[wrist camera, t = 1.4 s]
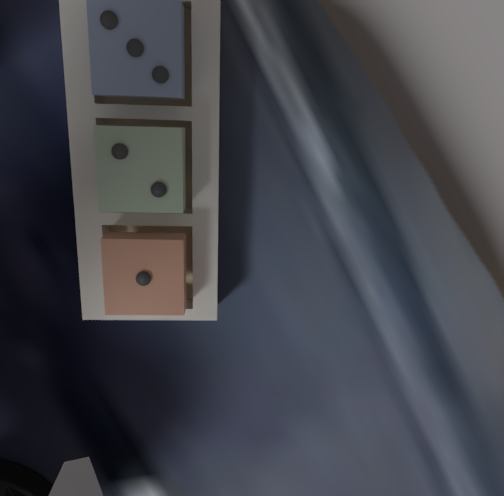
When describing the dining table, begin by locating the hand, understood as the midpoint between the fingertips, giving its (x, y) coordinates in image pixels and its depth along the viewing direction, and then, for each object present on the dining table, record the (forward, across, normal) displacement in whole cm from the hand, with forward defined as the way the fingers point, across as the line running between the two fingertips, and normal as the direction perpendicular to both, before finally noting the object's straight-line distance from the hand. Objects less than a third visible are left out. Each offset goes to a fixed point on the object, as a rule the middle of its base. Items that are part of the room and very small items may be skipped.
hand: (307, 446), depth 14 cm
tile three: (+23, -5, +16) cm, 29 cm away
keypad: (+27, -7, +8) cm, 29 cm away
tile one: (+23, -9, 0) cm, 25 cm away
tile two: (+23, -7, +8) cm, 26 cm away
